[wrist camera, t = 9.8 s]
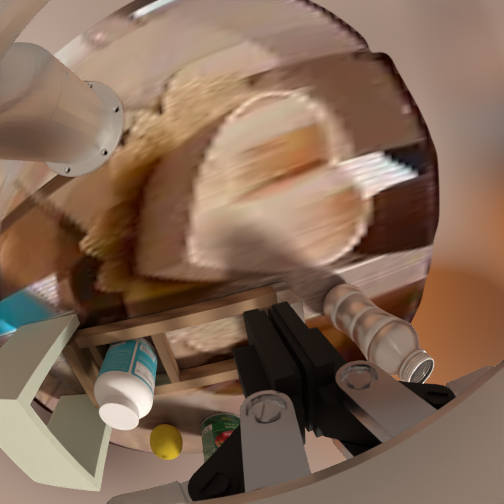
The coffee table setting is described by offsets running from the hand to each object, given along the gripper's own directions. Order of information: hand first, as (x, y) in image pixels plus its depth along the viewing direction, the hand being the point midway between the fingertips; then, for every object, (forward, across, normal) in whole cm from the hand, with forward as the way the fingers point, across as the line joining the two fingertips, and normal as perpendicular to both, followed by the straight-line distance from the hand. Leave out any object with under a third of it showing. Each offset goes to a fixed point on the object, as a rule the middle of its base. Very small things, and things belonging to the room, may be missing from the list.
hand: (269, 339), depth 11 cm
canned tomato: (+26, +6, +35) cm, 44 cm away
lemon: (+26, +15, +33) cm, 44 cm away
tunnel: (+26, +28, +17) cm, 42 cm away
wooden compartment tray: (+25, +8, +16) cm, 31 cm away
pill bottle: (+26, +15, +16) cm, 34 cm away
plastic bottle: (+26, -16, +15) cm, 34 cm away
